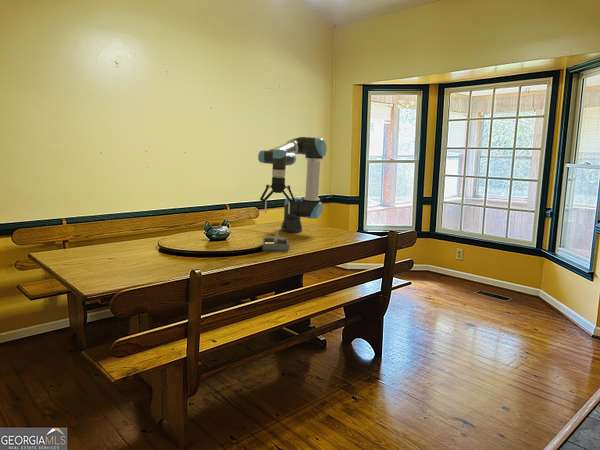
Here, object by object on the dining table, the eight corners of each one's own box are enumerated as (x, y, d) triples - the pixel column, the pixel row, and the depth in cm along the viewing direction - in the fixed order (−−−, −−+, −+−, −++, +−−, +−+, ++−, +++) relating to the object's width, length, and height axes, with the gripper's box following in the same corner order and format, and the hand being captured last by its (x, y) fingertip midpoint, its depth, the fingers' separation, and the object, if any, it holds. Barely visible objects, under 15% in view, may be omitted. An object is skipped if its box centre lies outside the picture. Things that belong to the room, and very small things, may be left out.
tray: (262, 244, 270) (262, 237, 269) (287, 245, 271) (287, 238, 271) (262, 250, 255) (262, 244, 255) (288, 251, 257) (288, 244, 256)
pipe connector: (284, 244, 268) (286, 228, 265) (282, 249, 258) (284, 233, 256) (267, 242, 268) (269, 226, 266) (265, 247, 259) (267, 230, 256)
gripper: (256, 176, 250) (255, 213, 255) (300, 178, 252) (298, 215, 257) (256, 175, 257) (255, 211, 262) (299, 176, 260) (297, 212, 264)
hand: (277, 213), depth 259 cm, fingers open, 13 cm apart
